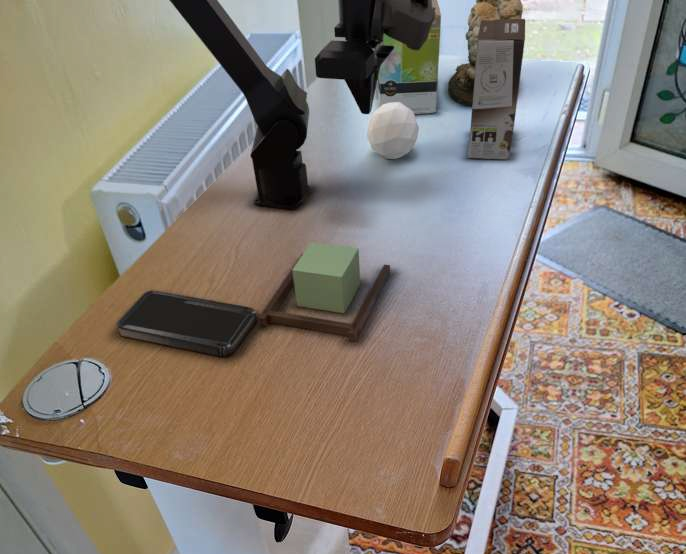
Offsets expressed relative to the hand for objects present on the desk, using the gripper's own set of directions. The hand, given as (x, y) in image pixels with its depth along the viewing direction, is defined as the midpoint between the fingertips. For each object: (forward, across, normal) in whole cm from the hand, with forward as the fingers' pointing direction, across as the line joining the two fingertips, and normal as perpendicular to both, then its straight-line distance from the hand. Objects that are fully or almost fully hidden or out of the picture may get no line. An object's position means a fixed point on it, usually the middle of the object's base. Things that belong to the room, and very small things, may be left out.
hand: (366, 113), depth 88 cm
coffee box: (+11, +18, -14) cm, 25 cm away
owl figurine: (+11, +41, -8) cm, 43 cm away
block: (+11, -25, -3) cm, 28 cm away
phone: (+11, -35, +11) cm, 38 cm away
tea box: (+11, +34, +4) cm, 36 cm away
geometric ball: (+11, +12, 0) cm, 16 cm away
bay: (+11, -26, -3) cm, 28 cm away
